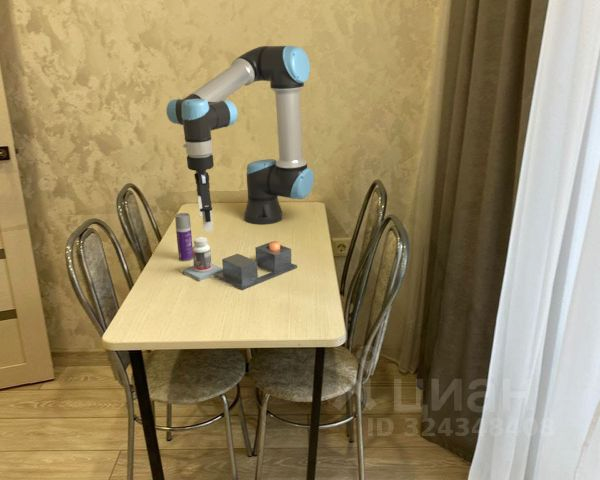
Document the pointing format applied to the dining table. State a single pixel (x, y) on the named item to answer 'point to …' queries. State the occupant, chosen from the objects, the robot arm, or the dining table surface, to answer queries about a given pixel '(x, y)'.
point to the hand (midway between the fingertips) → (206, 223)
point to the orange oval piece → (274, 245)
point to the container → (184, 237)
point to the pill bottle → (201, 255)
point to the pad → (202, 275)
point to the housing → (255, 266)
